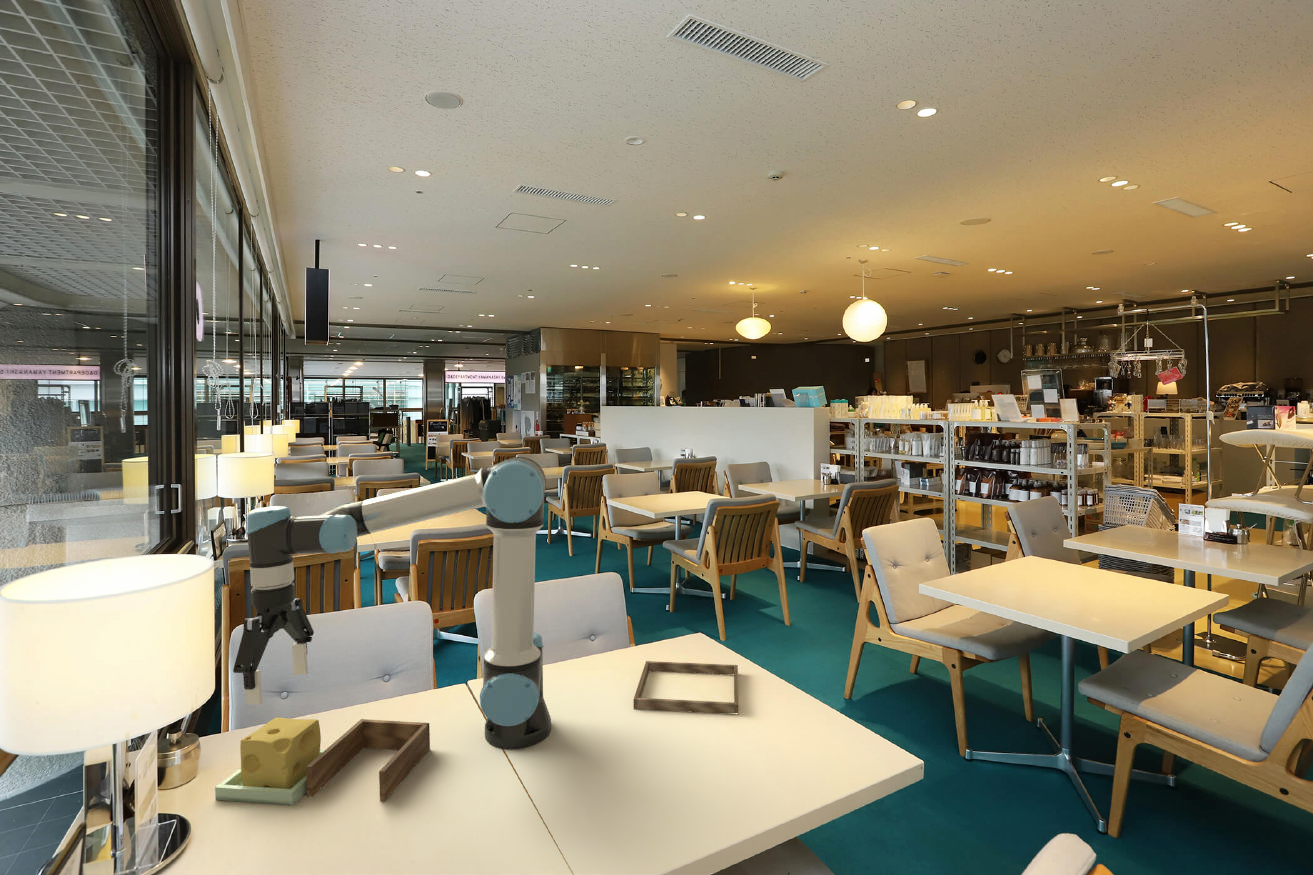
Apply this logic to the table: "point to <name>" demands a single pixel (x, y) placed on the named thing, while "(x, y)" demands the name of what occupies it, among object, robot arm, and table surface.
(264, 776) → the cheese
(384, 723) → the cubby
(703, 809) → the table surface
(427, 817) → the table surface
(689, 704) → the frame
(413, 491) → the robot arm
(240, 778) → the tray
